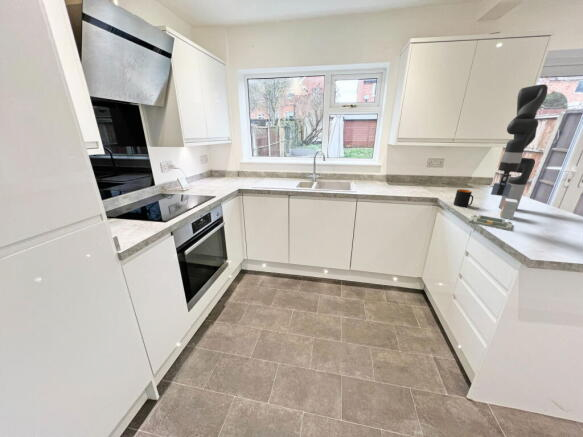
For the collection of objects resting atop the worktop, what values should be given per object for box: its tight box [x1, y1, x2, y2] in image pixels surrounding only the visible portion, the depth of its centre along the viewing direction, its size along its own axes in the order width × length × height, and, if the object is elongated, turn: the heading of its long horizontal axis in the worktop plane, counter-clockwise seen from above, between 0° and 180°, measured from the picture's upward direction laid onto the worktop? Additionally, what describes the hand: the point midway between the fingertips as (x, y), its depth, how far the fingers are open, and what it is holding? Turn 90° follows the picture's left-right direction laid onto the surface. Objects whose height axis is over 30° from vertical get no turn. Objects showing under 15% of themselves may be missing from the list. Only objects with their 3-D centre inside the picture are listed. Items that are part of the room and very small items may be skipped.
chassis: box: [468, 214, 513, 231], centre depth 130 cm, size 12×18×3 cm, turn 47°
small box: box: [499, 198, 519, 220], centre depth 139 cm, size 8×6×10 cm
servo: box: [490, 182, 514, 197], centre depth 123 cm, size 4×10×7 cm, turn 47°
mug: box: [453, 189, 474, 208], centre depth 159 cm, size 8×12×10 cm
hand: (499, 193), depth 124 cm, fingers closed on servo, 4 cm apart
